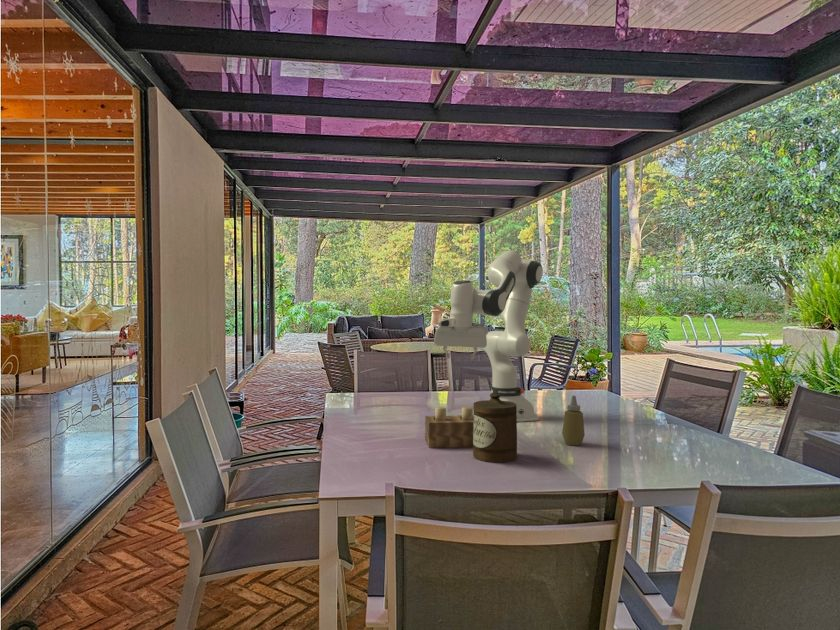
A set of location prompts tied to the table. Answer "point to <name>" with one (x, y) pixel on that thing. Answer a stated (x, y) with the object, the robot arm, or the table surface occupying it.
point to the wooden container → (495, 430)
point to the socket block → (449, 432)
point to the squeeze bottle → (573, 424)
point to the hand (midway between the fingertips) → (459, 358)
